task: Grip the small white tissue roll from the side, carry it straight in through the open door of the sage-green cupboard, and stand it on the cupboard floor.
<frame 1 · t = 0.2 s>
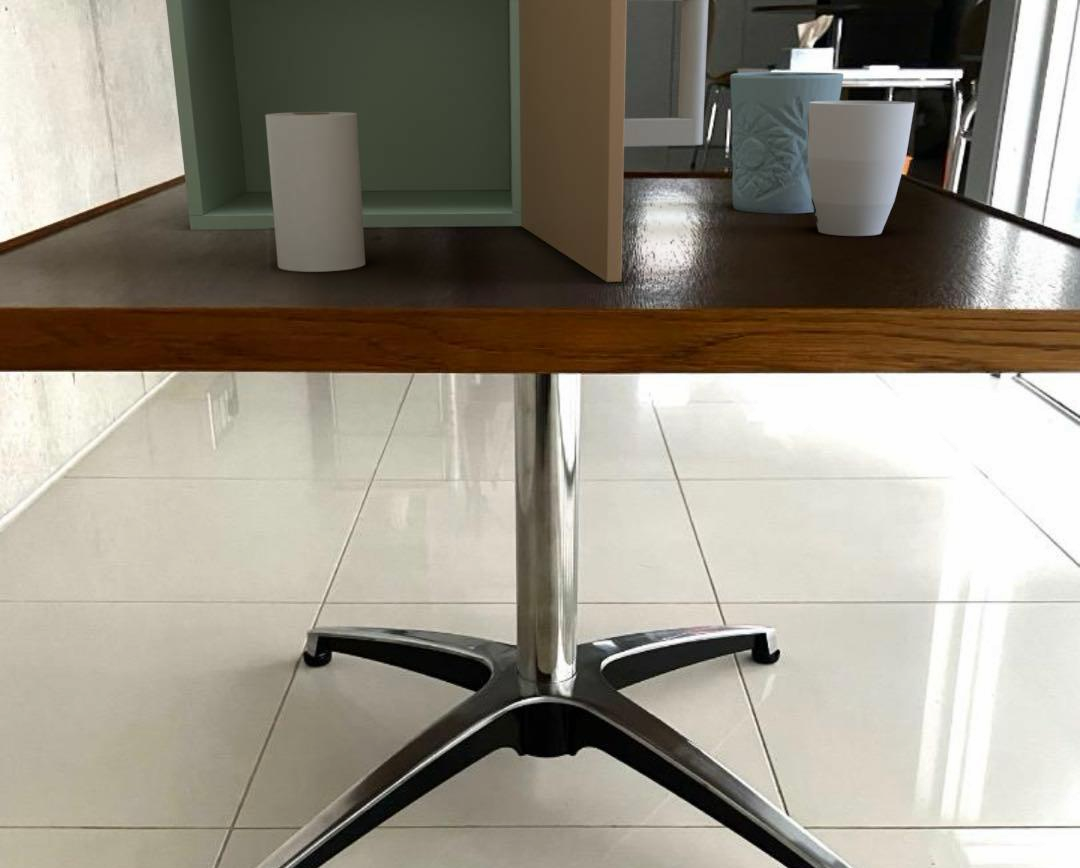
embossed blue planter: (777, 210, 115), on the table
cupboard door: (604, 60, 86), point 13 cm above the table, hinge at 100.0°
cup: (849, 234, 100), on the table
cupboard: (370, 214, 113), on the table
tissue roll: (321, 266, 85), on the table
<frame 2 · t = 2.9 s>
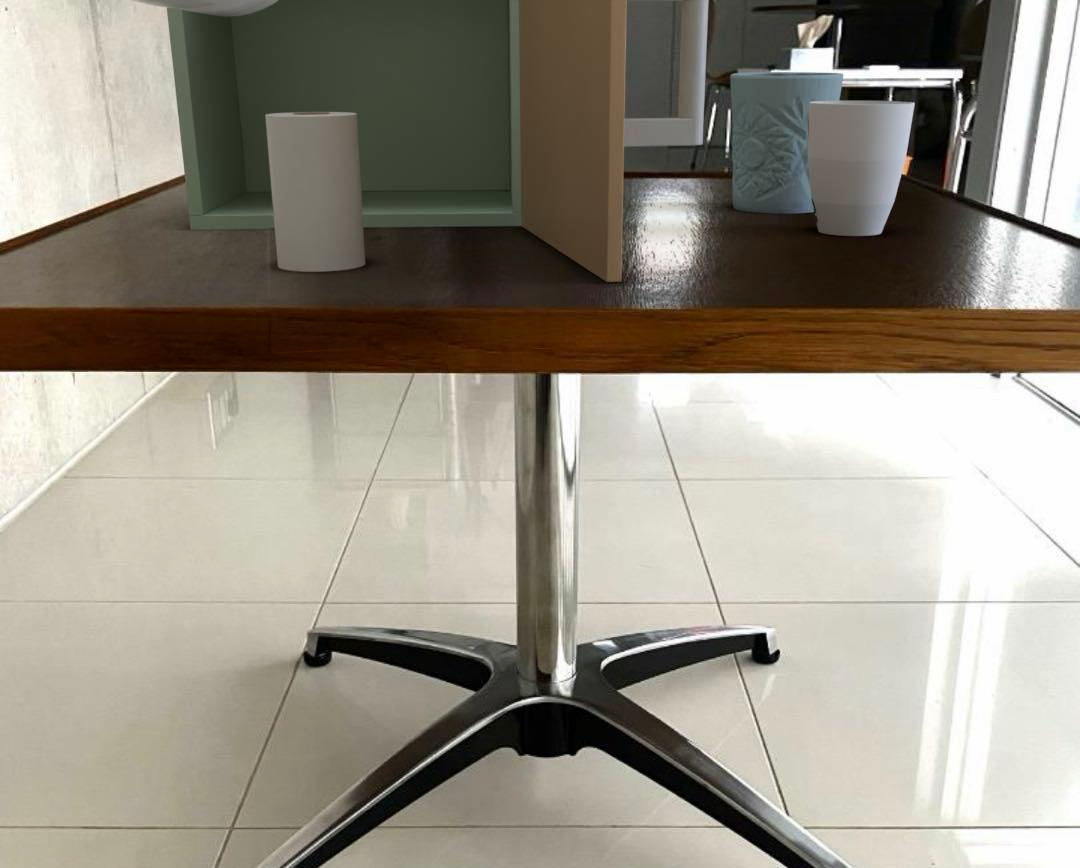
nothing on the table moved.
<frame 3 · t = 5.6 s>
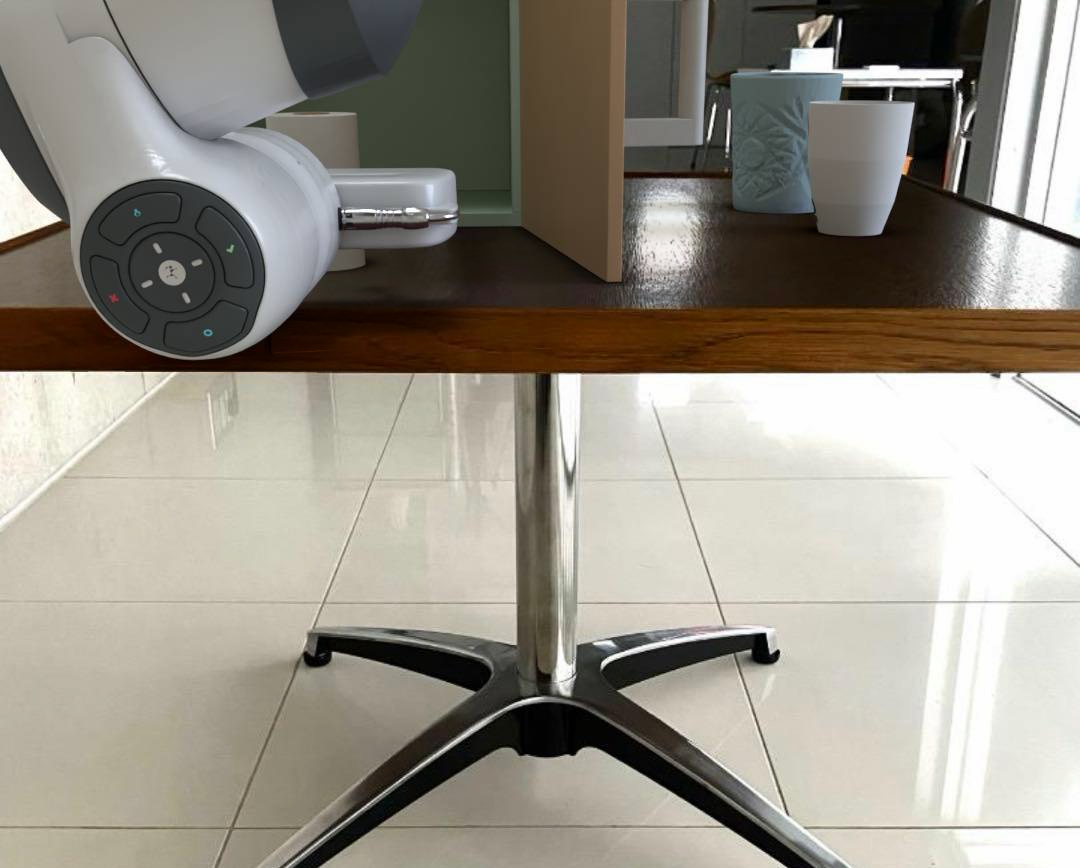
hand: (294, 192, 74), 6 cm above the table, tool horizontal, fingers open, 8 cm apart
nothing on the table moved.
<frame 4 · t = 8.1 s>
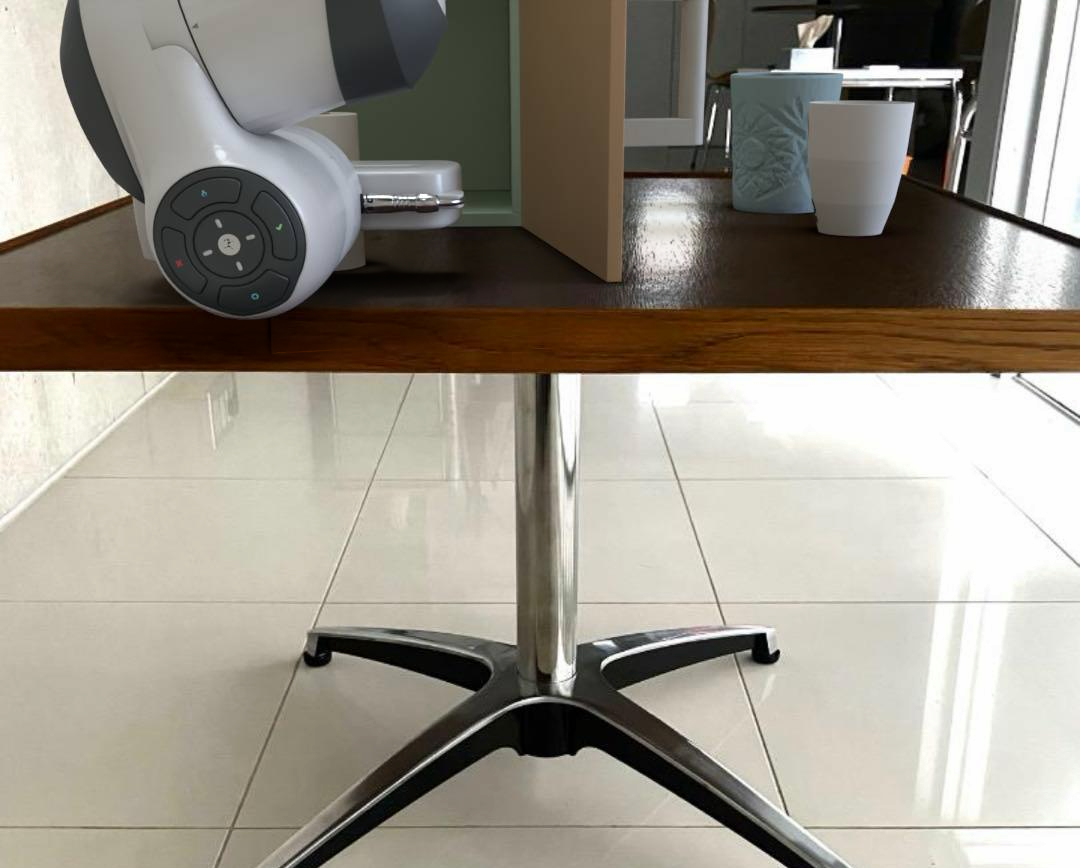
hand: (317, 182, 84), 6 cm above the table, tool horizontal, fingers closed on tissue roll, 6 cm apart
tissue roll: (322, 266, 85), on the table, touching gripper
everything else where it was.
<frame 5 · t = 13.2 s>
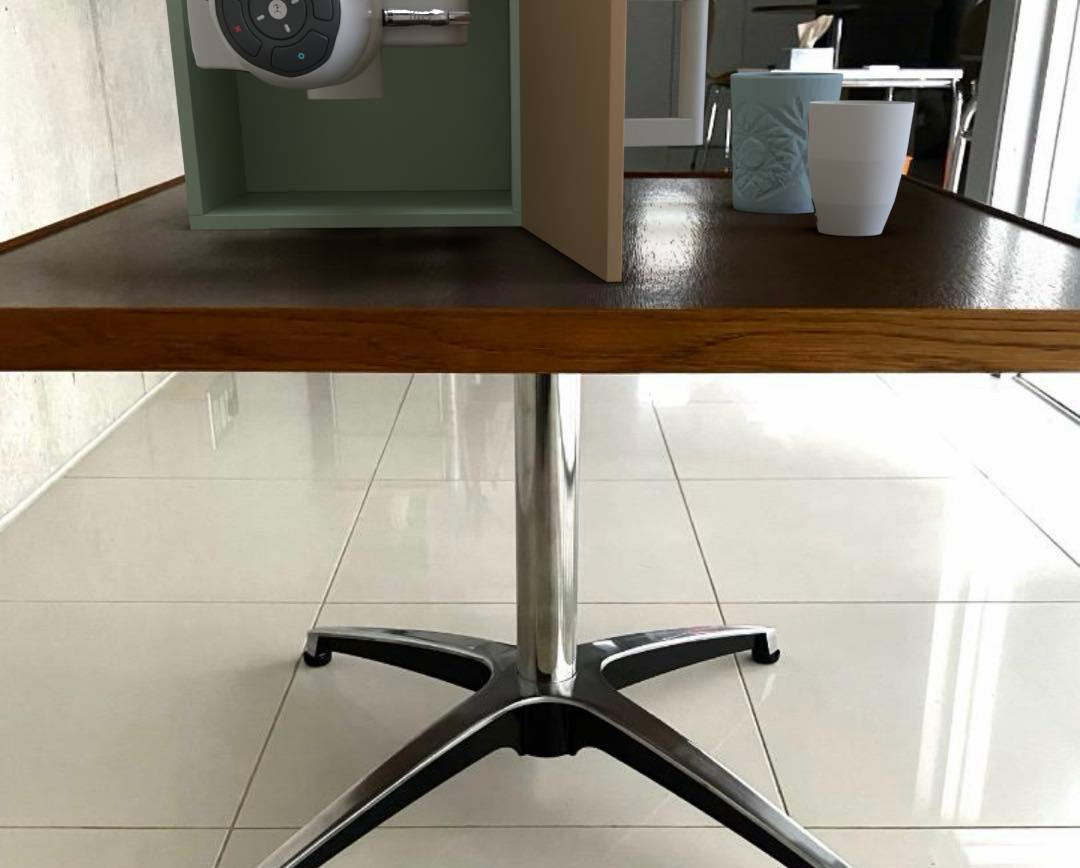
hand: (342, 23, 96), 16 cm above the table, tool horizontal, fingers closed on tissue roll, 6 cm apart
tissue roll: (346, 98, 97), point 10 cm above the table, touching gripper
everything else where it was.
when the fingers open (7 cm above the table, at t = 18.2 s): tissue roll stays where it is, resting on cupboard.
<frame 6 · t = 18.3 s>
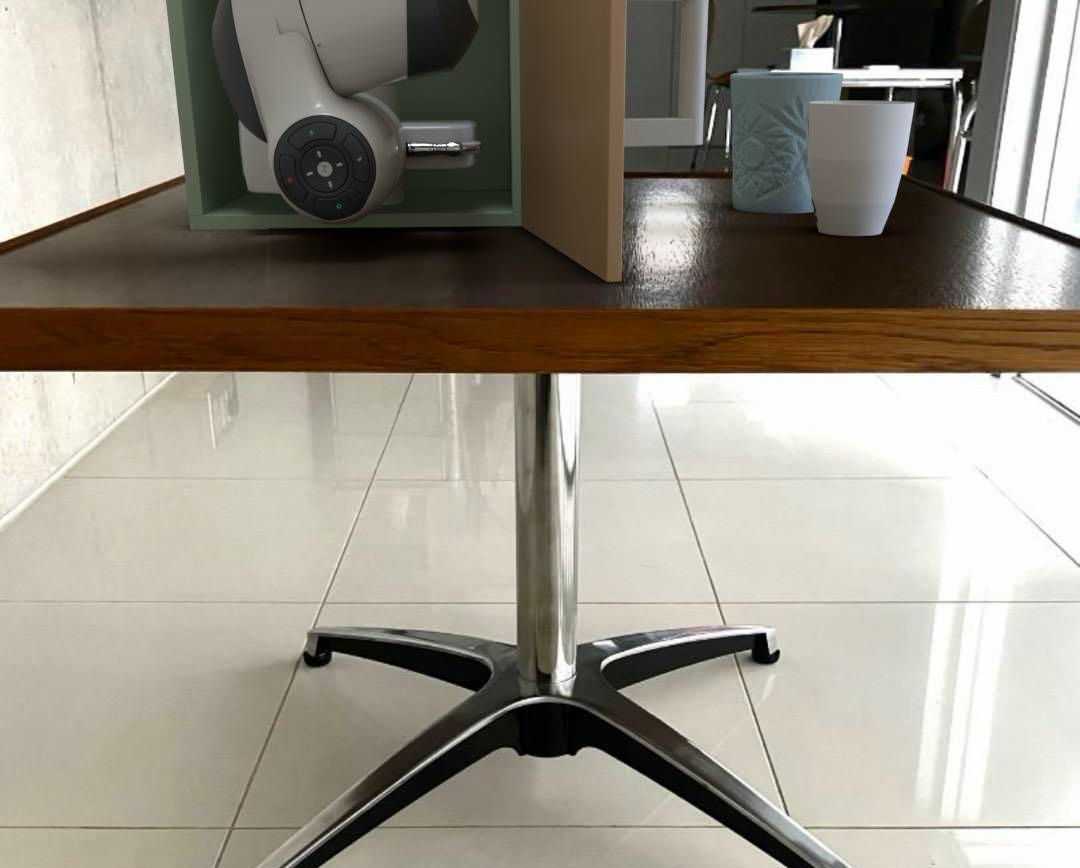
hand: (368, 138, 110), 7 cm above the table, tool horizontal, fingers open, 6 cm apart
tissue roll: (371, 202, 111), point 1 cm above the table, touching cupboard
everything else where it was.
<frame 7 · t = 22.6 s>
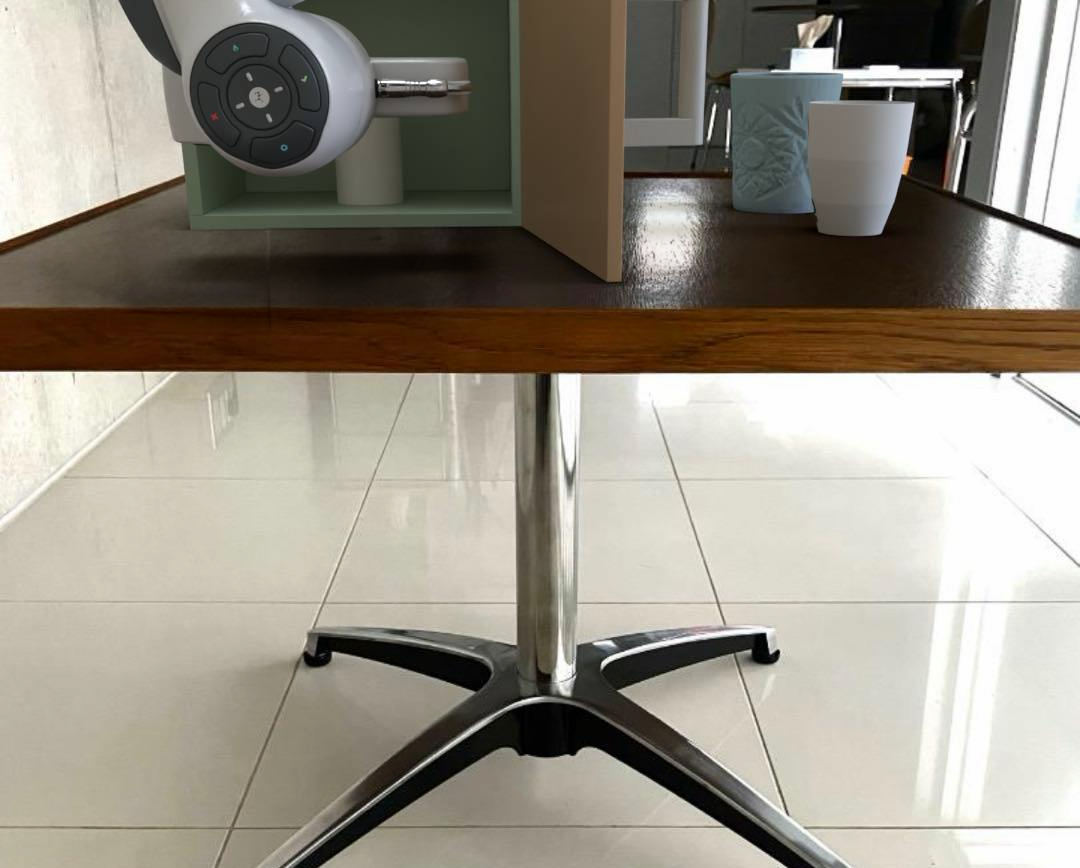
hand: (332, 84, 89), 12 cm above the table, tool horizontal, fingers open, 8 cm apart
nothing on the table moved.
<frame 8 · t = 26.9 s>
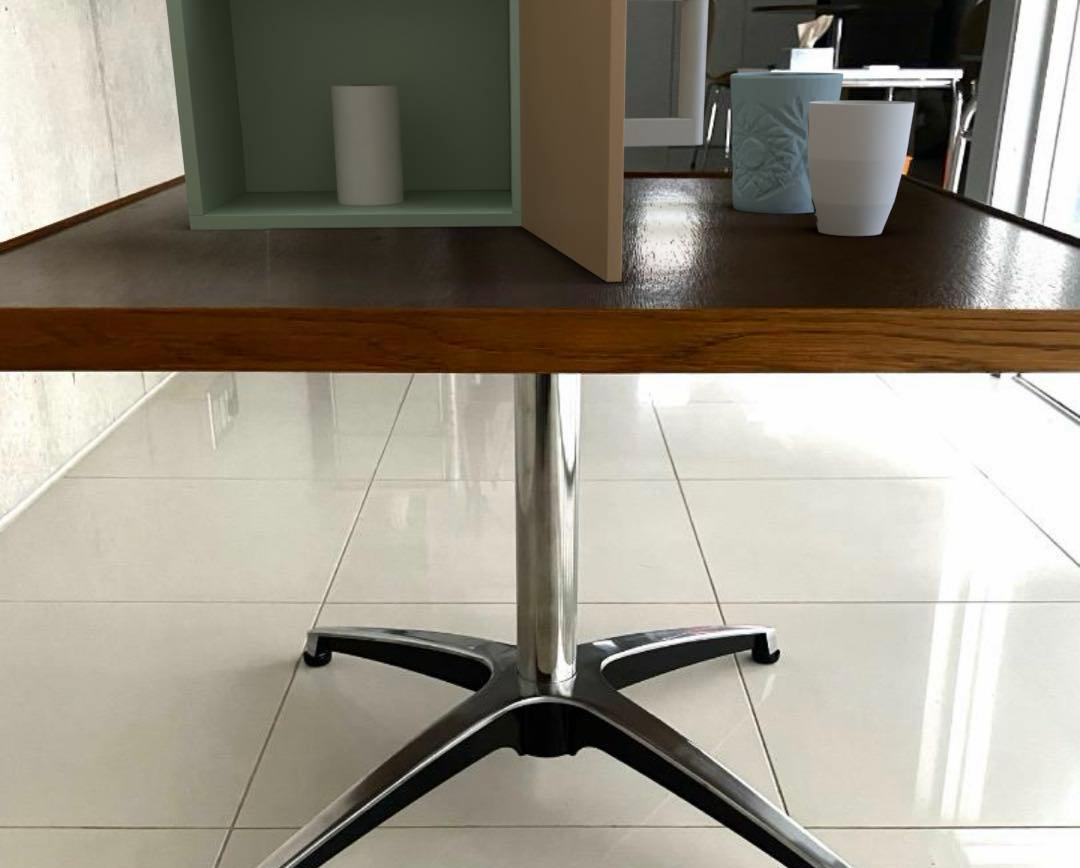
nothing on the table moved.
at the end: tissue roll inside the target area in the cupboard (0.9 cm from its centre), point 1.2 cm above the cupboard's base; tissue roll tilted 0°; the gripper is holding nothing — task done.
